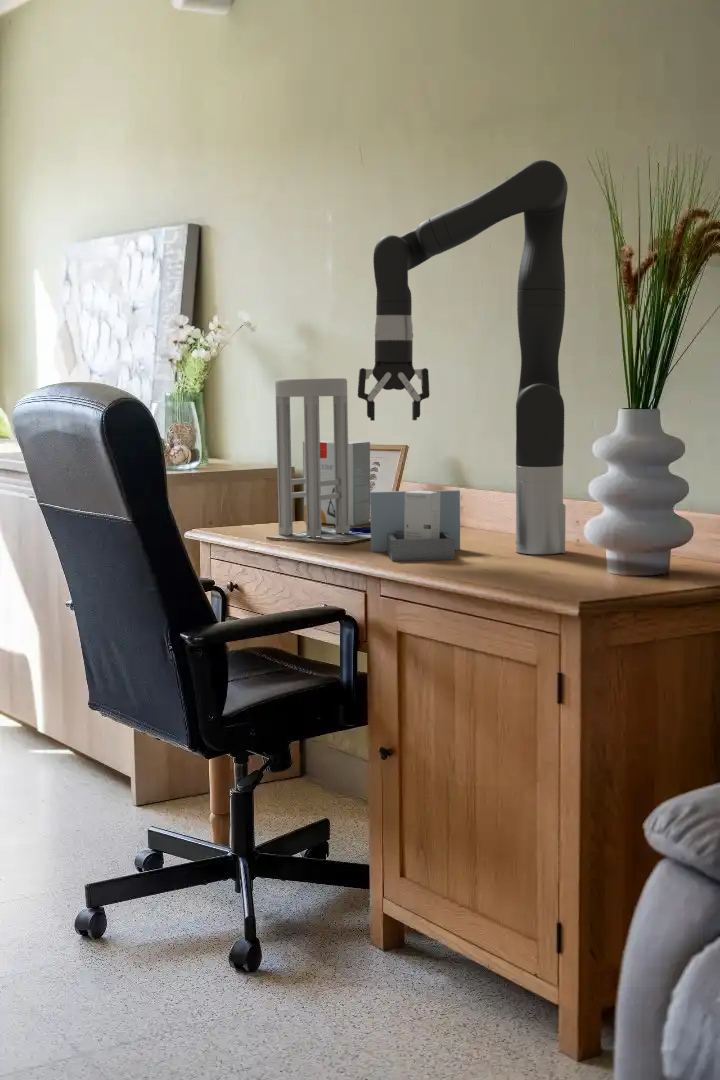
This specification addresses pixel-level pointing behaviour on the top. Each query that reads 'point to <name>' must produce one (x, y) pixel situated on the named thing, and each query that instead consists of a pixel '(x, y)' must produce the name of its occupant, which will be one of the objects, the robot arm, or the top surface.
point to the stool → (312, 452)
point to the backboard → (392, 510)
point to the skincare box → (422, 515)
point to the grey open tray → (419, 547)
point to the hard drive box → (357, 481)
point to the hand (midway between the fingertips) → (393, 420)
